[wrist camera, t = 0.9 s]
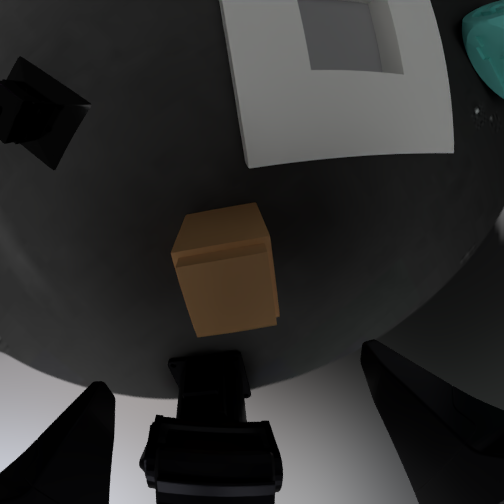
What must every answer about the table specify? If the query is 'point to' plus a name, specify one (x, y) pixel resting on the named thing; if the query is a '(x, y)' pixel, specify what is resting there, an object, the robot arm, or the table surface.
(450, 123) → the socket plate
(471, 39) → the decorative dice
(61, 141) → the black angular piece
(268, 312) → the brown block
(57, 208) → the table surface
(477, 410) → the robot arm
